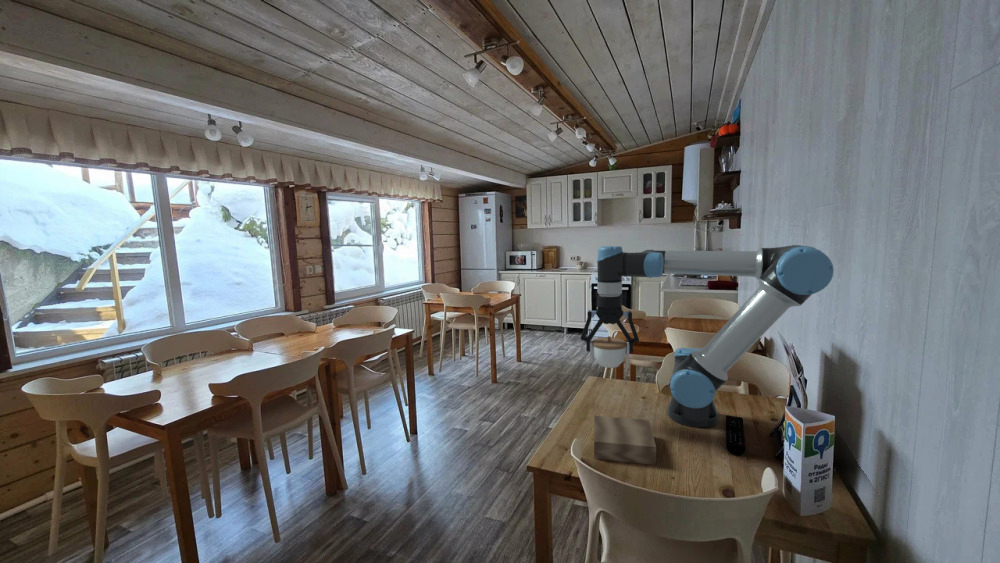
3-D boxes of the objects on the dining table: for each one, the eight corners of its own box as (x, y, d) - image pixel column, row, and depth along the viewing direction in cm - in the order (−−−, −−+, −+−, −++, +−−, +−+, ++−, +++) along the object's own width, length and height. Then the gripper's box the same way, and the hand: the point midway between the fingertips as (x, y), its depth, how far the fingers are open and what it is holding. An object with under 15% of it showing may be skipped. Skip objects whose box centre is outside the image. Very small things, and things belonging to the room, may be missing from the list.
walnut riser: (648, 435, 124) (648, 419, 123) (655, 464, 108) (656, 447, 108) (594, 430, 127) (594, 415, 127) (594, 458, 112) (594, 441, 111)
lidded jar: (621, 372, 125) (621, 342, 124) (587, 367, 130) (587, 338, 129) (630, 362, 134) (630, 334, 133) (598, 358, 139) (598, 331, 138)
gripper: (646, 293, 130) (645, 360, 133) (573, 292, 136) (573, 356, 138) (649, 297, 123) (648, 367, 125) (571, 296, 128) (572, 363, 131)
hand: (609, 362), depth 132 cm, fingers closed on lidded jar, 11 cm apart
